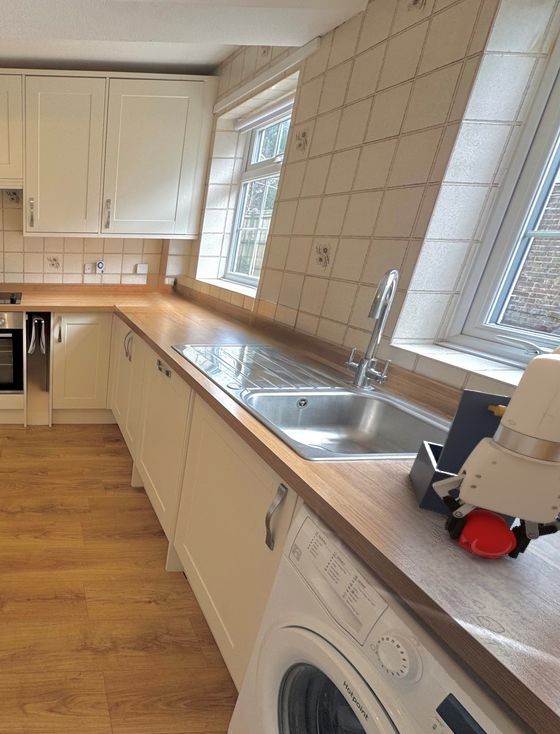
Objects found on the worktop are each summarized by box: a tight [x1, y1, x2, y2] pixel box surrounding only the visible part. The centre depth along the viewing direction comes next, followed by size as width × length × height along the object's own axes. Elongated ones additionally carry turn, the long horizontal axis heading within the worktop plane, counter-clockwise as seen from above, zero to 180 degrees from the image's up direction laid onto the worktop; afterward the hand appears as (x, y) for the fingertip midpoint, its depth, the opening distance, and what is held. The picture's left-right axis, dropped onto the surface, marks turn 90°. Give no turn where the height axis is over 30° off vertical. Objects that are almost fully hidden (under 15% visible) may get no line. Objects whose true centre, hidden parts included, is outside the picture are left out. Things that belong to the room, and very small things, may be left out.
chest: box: [409, 440, 517, 529], centre depth 74 cm, size 13×11×8 cm
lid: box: [436, 388, 512, 474], centre depth 64 cm, size 14×11×6 cm
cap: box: [456, 510, 516, 559], centre depth 63 cm, size 8×6×6 cm
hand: (479, 542), depth 64 cm, fingers closed on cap, 5 cm apart
